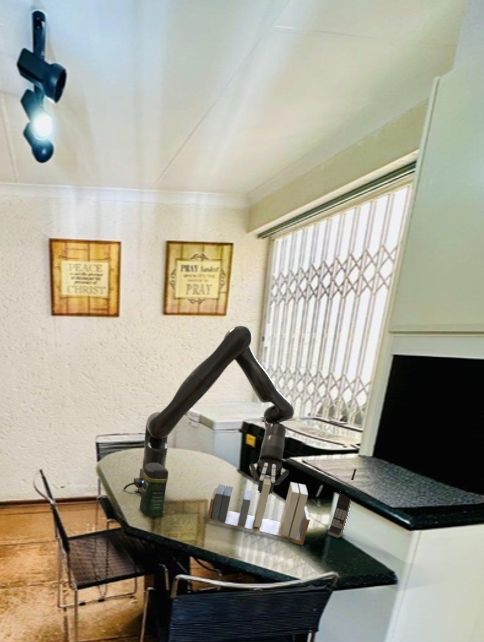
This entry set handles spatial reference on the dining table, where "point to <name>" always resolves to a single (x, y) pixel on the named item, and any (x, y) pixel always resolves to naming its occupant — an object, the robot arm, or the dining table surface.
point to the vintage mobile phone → (340, 514)
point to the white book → (262, 501)
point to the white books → (293, 509)
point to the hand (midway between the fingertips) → (264, 492)
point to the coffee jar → (153, 490)
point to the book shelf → (263, 523)
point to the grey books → (223, 504)
